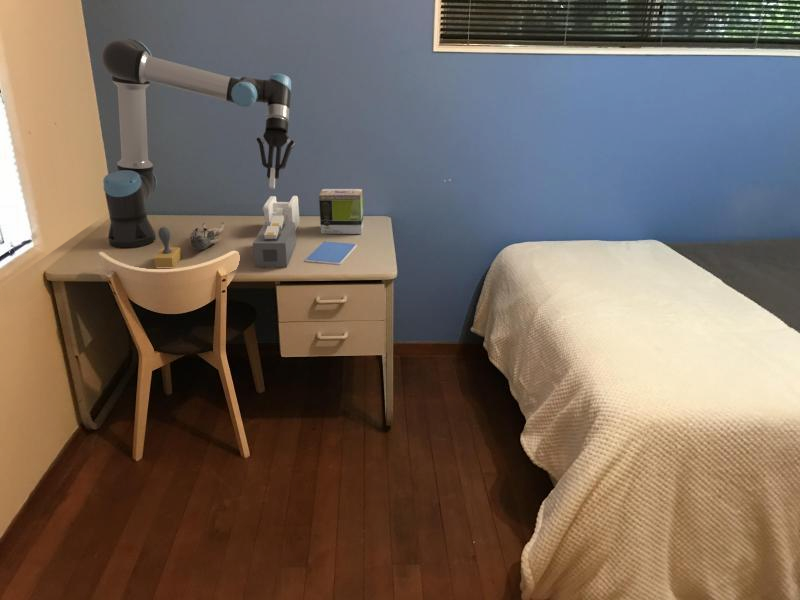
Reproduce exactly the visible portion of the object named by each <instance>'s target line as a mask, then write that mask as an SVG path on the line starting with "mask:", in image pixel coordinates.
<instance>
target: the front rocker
mask: <svg viewBox="0 0 800 600" xmlns="http://www.w3.org/2000/svg"><path fill="white" fill-rule="evenodd" d="M278 232H279V226H267V229H266V232H265V234H264V237H265V239H276V238H277V235H278Z"/></svg>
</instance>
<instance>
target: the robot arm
mask: <svg viewBox="0 0 800 600" xmlns="http://www.w3.org/2000/svg"><path fill="white" fill-rule="evenodd" d="M101 54H102V55H101V60H102V65H103V66H104V68H105V70H106V71H107V72H108V73H109V74H110V75H111V81H112V83H113V84H114V85H115V86H116V87H117V99H118V101H117V102H118V118H119V134H120V135H119V137H120V151H121V152H120V153H121V158H120V160H118V161H117V162H116V164H117V165H116V166H117V171H114V172H111V173H108V174H106V175H105V176H104V178H103V181H102V182H103V191H104V195H105V199H106V204H107V210H108V214H109V215H108V216H109V219H110V224H109V229H108V236H107V239H108V244H109V246H111V247H113V246H114V248H117V247H133V248H138V247H137V246H140V247H143V246H142V245H144V246H147V245H146V244H148V245H150V244H152V243H154V242H155V241H156V240H157V237H156V233H155V230H154V228H153V226H152V224H151V223H150V220H149V219H148V215H147V209H146V203H145V202H146V201H147V200H148V199H150V197H151V196H152V195H154V192H156V188H157V184H158V180H157V177H156V174H155V173H154V164H153V163H152V162H151V160H149V147H148V122H147V121H148V120H147V97H146V89H147V88H148V87H150V85H151V83H154V84H158V85H162V86H165V87H170V88H173V89H178V90H182V91H186V92H191V93H194V94H197V95H201V96H205V97H206V96H207V97H210V98H214V99H218V100H222V101H226V102H229V103H233V104H236V105H237V106H238V107H242V108H249V107H251V106H253V105H254V104H255V103H263V104H267V106H266V120H265V129H264V130H265V131H264V133H263V135H262V136H261V137H256V142H257V143H258V145H259V152H260V158H261V165H262V166H263V168H266V169H267V170H266V173H267V174H266V178H267V179H269V185H268V186H269V189H271V190H275V189H276V180H278V179H279V178H280V171H281V170H283V169H284V170H285V168H286V166H287V164H288V160H289V157H290V154H291V151H292V149H293V148H294V147H295V141H294V140H292V139H290V138H289V135H288V133H289V120H290V109H291V108H290V107H291V106H290V105H291V95H292V80H291V78H290V76H287V75H286V74H283V73H272V74H270V76H269V79H259V78H253V77H245V76H235V77H230V76H226V75H223V74H221V73H220V74H219V73H215V72H211V71H208V70H204V69H200V68H197V67H193V66H189V65H185V64H181V63H178V62H174V61H171V60H166V59H163V58H158V57H155V56H153V55H152V52H151V51H150V49H149V48H148V47H147V46H146V45H145V44H144V43H143V42H141V41H139V40H138V39H137V40H136V39H132V38H123V39H116V40H112V41H110V42H108V43H106V45H105V46H104V48H103V50H102V52H101ZM265 142H266V144H267V145H268V157H267V158H266V152H265V146H264V144H265ZM285 144H286V145H287V146H286V148H285V151H284V154H283V157H282V160H281V156H282V148H283V146H285ZM275 149H276V152H275V163H274V162H273V161H274V151H275ZM273 163H274V164H275V165H274V164H273ZM273 165H274V167H273ZM155 239H156V240H155ZM154 240H155V241H154ZM153 241H154V242H153ZM149 243H150V244H149Z"/></svg>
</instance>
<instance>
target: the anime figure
mask: <svg viewBox="0 0 800 600" xmlns="http://www.w3.org/2000/svg"><path fill="white" fill-rule="evenodd" d="M225 226H226V225H225V222H224V221H221V223H220V226H219V228H217V227H210V228H206V222H202V224H201V227H199V228H198V227H197V228H195V229H193V230H192V232H191V233H190V240H191V242H190V245H191V247H192V248H193V249H195V250H197V251H203V250H206V249H208V248H209V247H210V246H211V245H212V244H217V243H218V242H220V241H221V239H222V238H221V237H220V236H218V238H216V239H215V236H216V235H217V234H218V235H219V234H221V233H222V232H223V231H224V228H225Z"/></svg>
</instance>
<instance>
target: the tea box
mask: <svg viewBox="0 0 800 600" xmlns="http://www.w3.org/2000/svg"><path fill="white" fill-rule="evenodd" d="M363 197H364V196H363V189H362V188H322V190H321V191H320V193H319V195H318V203H319V204H318V205H319V206H318V207H319V219H320V220H319V222H320V223H319V224H320V233H321V235H322V234H323V235H324V234H329V235H331V234H333V235H336V234H337V235H354V234H355V235H356V234H357V235H361V234H362V233H363V229H364V202H363V200H364V199H363ZM362 228H363V229H362Z"/></svg>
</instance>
